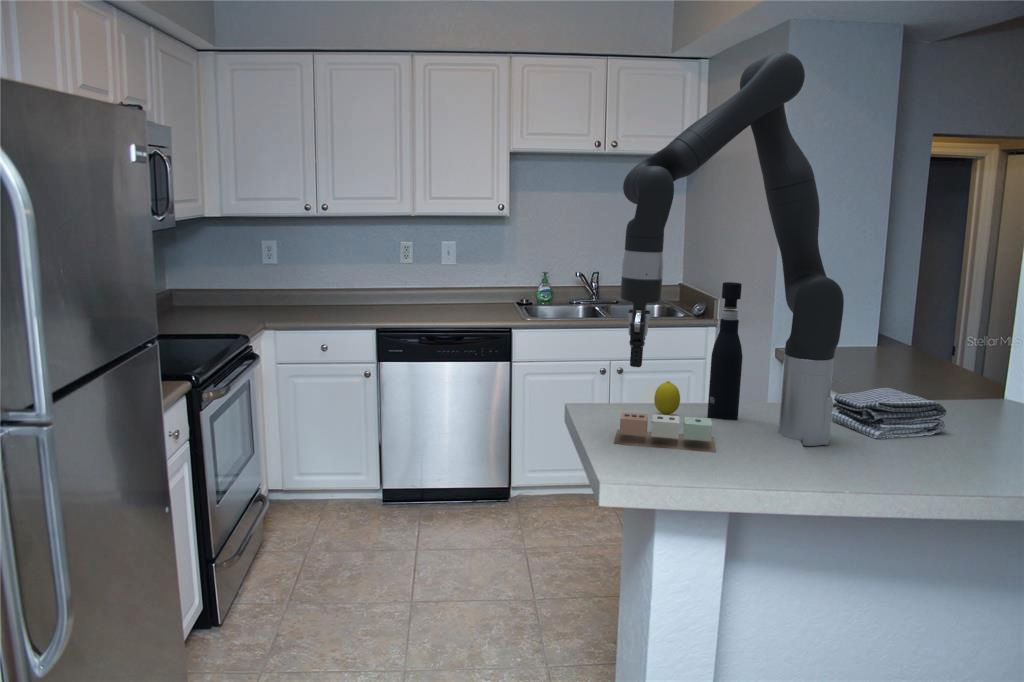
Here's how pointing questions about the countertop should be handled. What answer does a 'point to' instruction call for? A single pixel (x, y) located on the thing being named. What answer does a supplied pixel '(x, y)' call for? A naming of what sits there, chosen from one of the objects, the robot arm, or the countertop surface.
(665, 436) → the key two
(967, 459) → the countertop surface
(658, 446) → the board
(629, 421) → the key three
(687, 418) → the key one
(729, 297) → the wine bottle
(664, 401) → the lemon
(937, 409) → the towel
